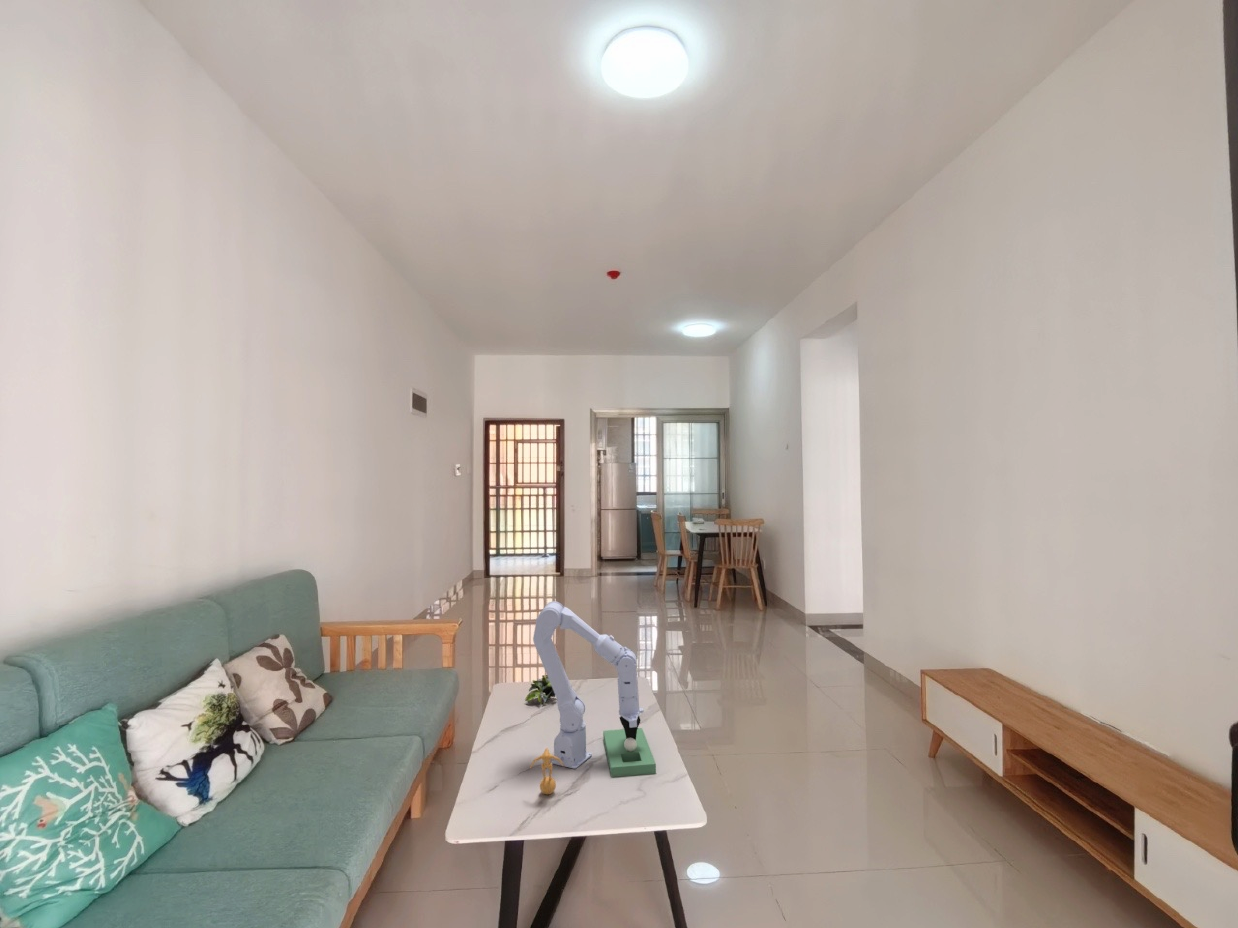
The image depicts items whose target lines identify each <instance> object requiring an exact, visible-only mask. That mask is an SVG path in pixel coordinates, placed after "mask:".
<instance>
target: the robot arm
mask: <svg viewBox="0 0 1238 928" xmlns="http://www.w3.org/2000/svg"><path fill="white" fill-rule="evenodd" d="M559 626H560V628H559V630H571V631H573V632H574V633H576V634H577V635H579V636H581V637H582V638H583V639H585V640H586V641H587V642H589V643H590V644H592V645H593V650H594V652H595V653H597V654H598V655H599V656H601V657H602V658H603V659H605V661H607V662H608V663H610V664H611V665H613V666H615V670H616V671H617V675H618V677H617V690H618V695H617V696H618V709H619V710H618V715H619V721H620V723H621V725H622V728H623V729H624V730H625V735H626V739H627V738H634V739H635V740H636V734H637V729H638V728H639V727H640V724H641V717H640V714H643V713H645V711H644V708H643V707H640V700H639V699H640V698H639V697H640V695H639V680H638V673H637V669H638V668H637V667H638V665H637V663H638V662H637V661H638V660H637V656H636V654H635V652H634V651H632V649H629V648H628V647H627V646H623V645H621V644H620V643H619V642H618V641H616V640H615V637H614V636H613V635H612V634H610V635H608V634H606V633H603V634H599V633H598V632H597V631H596V630H595V629H593V628H592V627H591V626H590V625H589V624H587V622H585V621H584V620H583V619H582V618H580V617H579V616H578V615H577V614H576V613H574V612H573V611H572V610H571V609H570V608H568V607H566V606H564V605H563V604H562V603H560V602H558V601H556V600H555V601H553V600H552V601H550V602H547V604H546V605H545V606H544V607H543V609H542V610H541V611H540V612H539V614H538V615H537V618H536V619H535V625H534V632H533V637H532V641H533V645H534V647H535V649H536V651H537V654H538V656H539V658H540V662H541V663H542V666H543V669H544V671H545V673H546V675H547V676H548V678H549V681H550V683H551V686H552V688H553V690H554V693H555V697H556V701H557V710H558V712H559V723H560V727H559V732H558V734H557V735H556V737H554V741H553V756H555V757H558V758H559V759H560V760H561V761H562V763H563V765H564V767H566V768H570V769H573V770H576V769H577V768H578V767H579V766H581V765H582V764H584V763H585V762H586V761H587V760H588V759H589V758H591V757H592V756H593V753H592V752H588V751H587V731H586V730H587V728H586V726H587V723H586V722H585V720H584V718H583V717H584V714H585V713H586V704H585V702H584V700H582V699H581V698H579V696H578V694H577V692H576V691H575V690H574V689H573V687H572V685H571V682H570V680H569V677H568V675H567V673H566V670H565V667H564V665H563V663H562V660H561V658H560V656H559V653H558V651H557V649H556V646H555V644H554V641H553V639H552V637H553V635H554V633H555V631H556V630H557V628H558V627H559ZM551 763H552V765H556V766H557V765H558V766H562V764H561V763H560V762H559V761H558V760H556V759H552V761H551ZM562 767H563V766H562Z"/></svg>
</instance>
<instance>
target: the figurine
mask: <svg viewBox="0 0 1238 928" xmlns="http://www.w3.org/2000/svg"><path fill="white" fill-rule="evenodd" d="M554 759H556V760H558V761H559V762H560V763H561V764H562V767H563V768H564V767H565V766H564V765H563V763H562V761H561V760H560V759H559V758H558V757H555V756H554V754H551V753H550V751H549V749H548V748H547V747H546V748H545V749H544V751H543V753H542V754H541V755H539V756H538V757H536V758H534V759H533V761H532V763H531V764H530V767H529V768H530V769H532V768H533V766H534V764H535V762H536V761H537V762H538V761H539V760H542V762H543V763H541V769H542V776H543V778H542V779H541V781H540V783H539V789H540V791H541V793H542V794H544V795H547V796H548V795H552V794H553V793H554V792H555V790H556V786H557V785H556V784H557V783H556V780H555V779H554V778H553V777H552V774H553V771H552V770H553V763H552V762H551V760H554ZM546 769H548V770H549V771H548V774H549V776H546Z"/></svg>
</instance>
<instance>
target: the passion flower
mask: <svg viewBox="0 0 1238 928" xmlns="http://www.w3.org/2000/svg"><path fill="white" fill-rule="evenodd" d="M541 677H542V678H537V679H536V680H535V679H533V680H532V683H530V686H531V687H530V688H529V689H528V694H527V696H526V698H525V699H524V700H525V702H527V703H530V701H532V700H533V699H535V698H537V700H538V702H539V703H542V701H543V704H542V707H544V706H545V703H546V702H547V700H548V699H551V697H552V698H555V697H556V695H555V693H554V690H553V688H552V686H551V683H550V681H549V678H548V676H547V674H545V675H542V676H541Z"/></svg>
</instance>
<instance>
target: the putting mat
mask: <svg viewBox="0 0 1238 928" xmlns="http://www.w3.org/2000/svg"><path fill="white" fill-rule="evenodd" d="M602 731H603V733H602V735H603V736H602V738H603V742H604V743H603V744H604V748H605V752H606V757H607V762H608V767H609V772H610V777H611V778H616V777H617V778H619V777H628V776H629V777H630V776H640V775H641V776H642V775H654V774H657V764H656V761H655V758H654V756H653V752H652V750H651V748H650V745H649V742H648V740H647V737H646V735H645V732H644V729H643V727H638V729H637V734H636V742H637V747H636V749H635V750H634V751H632V752H629V751H627V750H626V749H625V747H624V742H625V740H626V735H625V730H624V728H623V729H608V730H607V729H606V730H602Z"/></svg>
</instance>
